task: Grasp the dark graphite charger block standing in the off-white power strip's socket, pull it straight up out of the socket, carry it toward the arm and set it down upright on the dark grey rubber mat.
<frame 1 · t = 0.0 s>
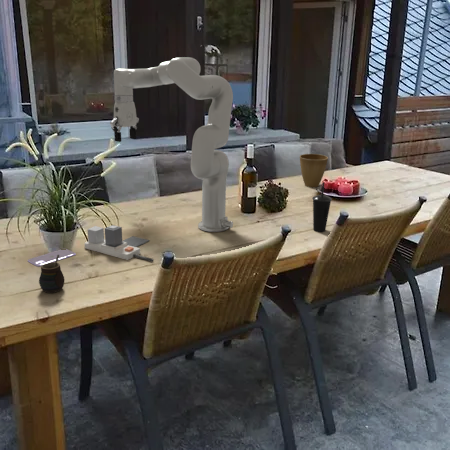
hand: (125, 139, 223), 31 cm above the table, tool pointing down, fingers open, 9 cm apart
charger: (114, 246, 184), point 2 cm above the table, touching power strip
drinking cup: (319, 230, 211), on the table
mate gourd: (52, 290, 156), on the table
plant pot: (311, 186, 279), on the table
power strip: (112, 250, 185), on the table
mat: (134, 242, 194), on the table
mobile phone: (52, 259, 179), on the table
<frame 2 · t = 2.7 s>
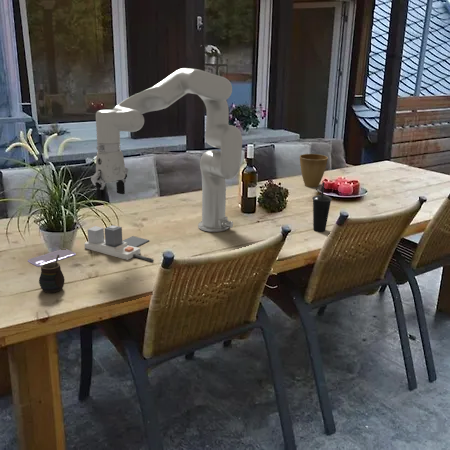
hand: (111, 196, 178), 20 cm above the table, tool pointing down, fingers open, 9 cm apart
nothing on the table moved.
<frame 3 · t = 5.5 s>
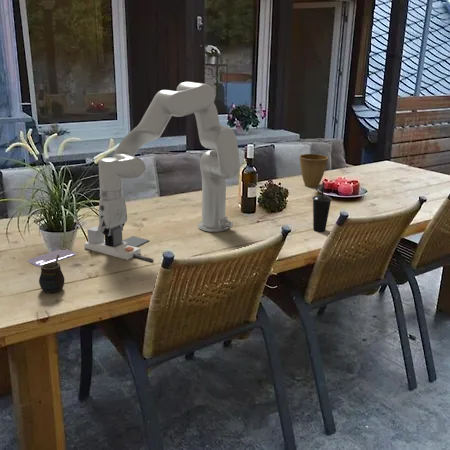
hand: (113, 242, 184), 3 cm above the table, tool pointing down, fingers closed on charger, 4 cm apart
charger: (114, 246, 184), point 2 cm above the table, touching gripper
everything else where it was.
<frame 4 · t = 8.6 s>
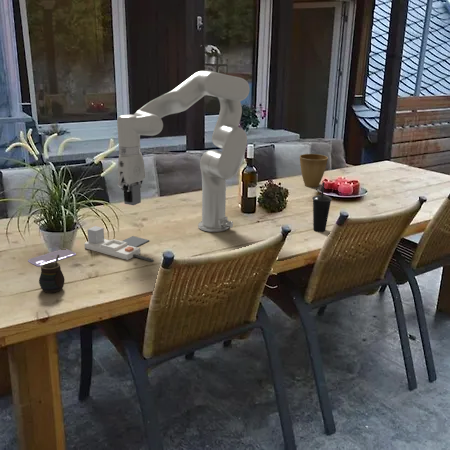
hand: (132, 199, 188), 17 cm above the table, tool pointing down, fingers closed on charger, 4 cm apart
charger: (132, 203, 189), point 15 cm above the table, touching gripper
everything else where it was.
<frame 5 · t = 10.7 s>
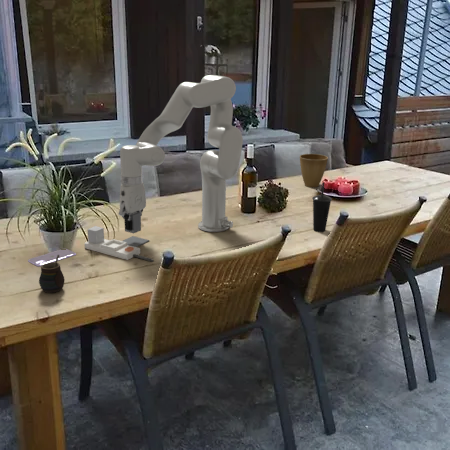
hand: (133, 227, 192), 6 cm above the table, tool pointing down, fingers closed on charger, 4 cm apart
charger: (133, 230, 192), point 5 cm above the table, touching gripper
everything else where it was.
when the fingers open (3 cm above the table, at t = 12.1 s): charger drops 1 cm, resting on mat.
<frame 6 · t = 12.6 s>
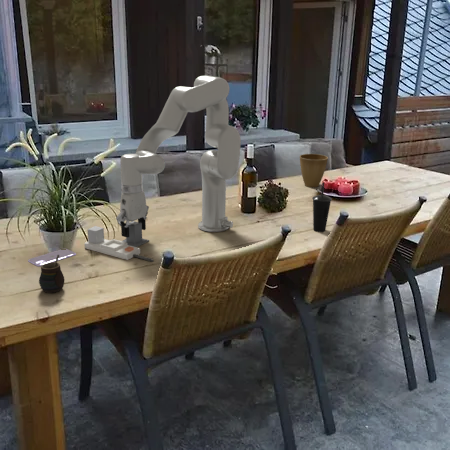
hand: (133, 232, 193), 4 cm above the table, tool pointing down, fingers open, 9 cm apart
charger: (134, 241, 194), resting on mat
everything else where it was.
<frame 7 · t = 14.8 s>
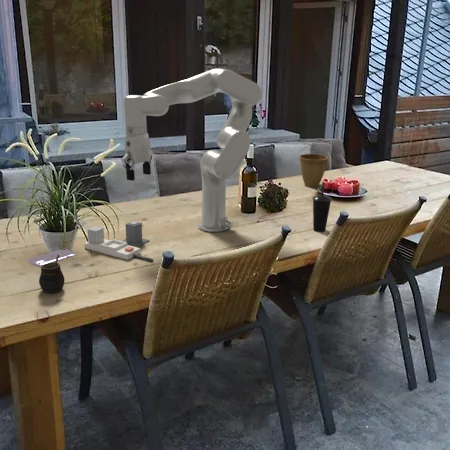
hand: (139, 177, 191), 24 cm above the table, tool pointing down, fingers open, 9 cm apart
nothing on the table moved.
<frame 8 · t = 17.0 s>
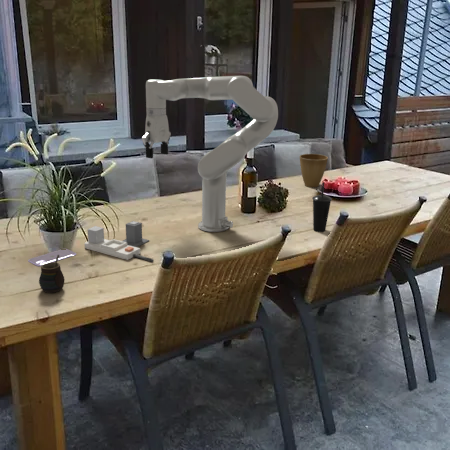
hand: (157, 155, 206), 28 cm above the table, tool pointing down, fingers open, 9 cm apart
nothing on the table moved.
at the end: charger inside the target area on the mat (0.0 cm from its centre), point 0.4 cm above the mat's base; charger tilted 0°; the gripper is holding nothing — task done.
